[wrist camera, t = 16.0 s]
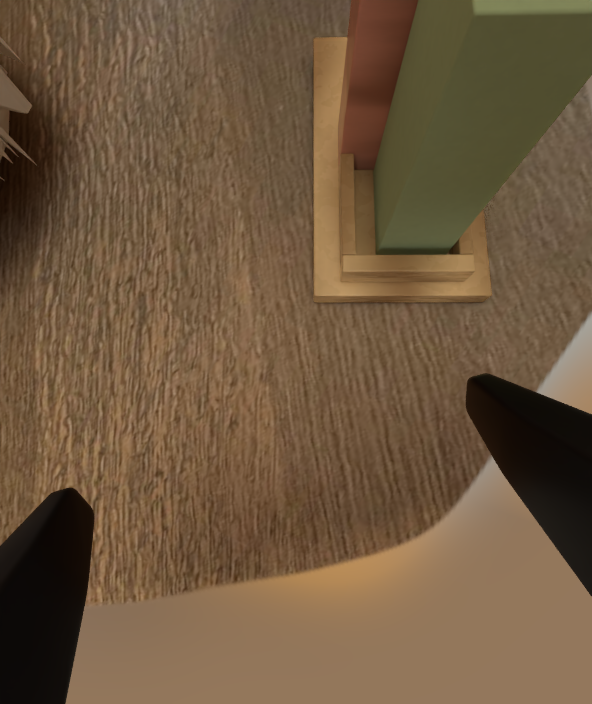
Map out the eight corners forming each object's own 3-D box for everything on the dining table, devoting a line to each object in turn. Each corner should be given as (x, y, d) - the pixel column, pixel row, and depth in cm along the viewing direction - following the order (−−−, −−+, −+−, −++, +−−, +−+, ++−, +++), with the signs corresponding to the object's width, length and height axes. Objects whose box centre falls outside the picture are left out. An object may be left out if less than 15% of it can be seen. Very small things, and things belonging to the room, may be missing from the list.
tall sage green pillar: (439, 171, 23) (611, -159, 10) (445, 256, 22) (647, 8, 9) (372, 172, 23) (457, -153, 10) (375, 256, 22) (474, 13, 9)
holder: (459, 51, 26) (572, -228, 15) (482, 302, 22) (655, 180, 11) (313, 54, 26) (318, -218, 15) (313, 302, 22) (320, 183, 11)
